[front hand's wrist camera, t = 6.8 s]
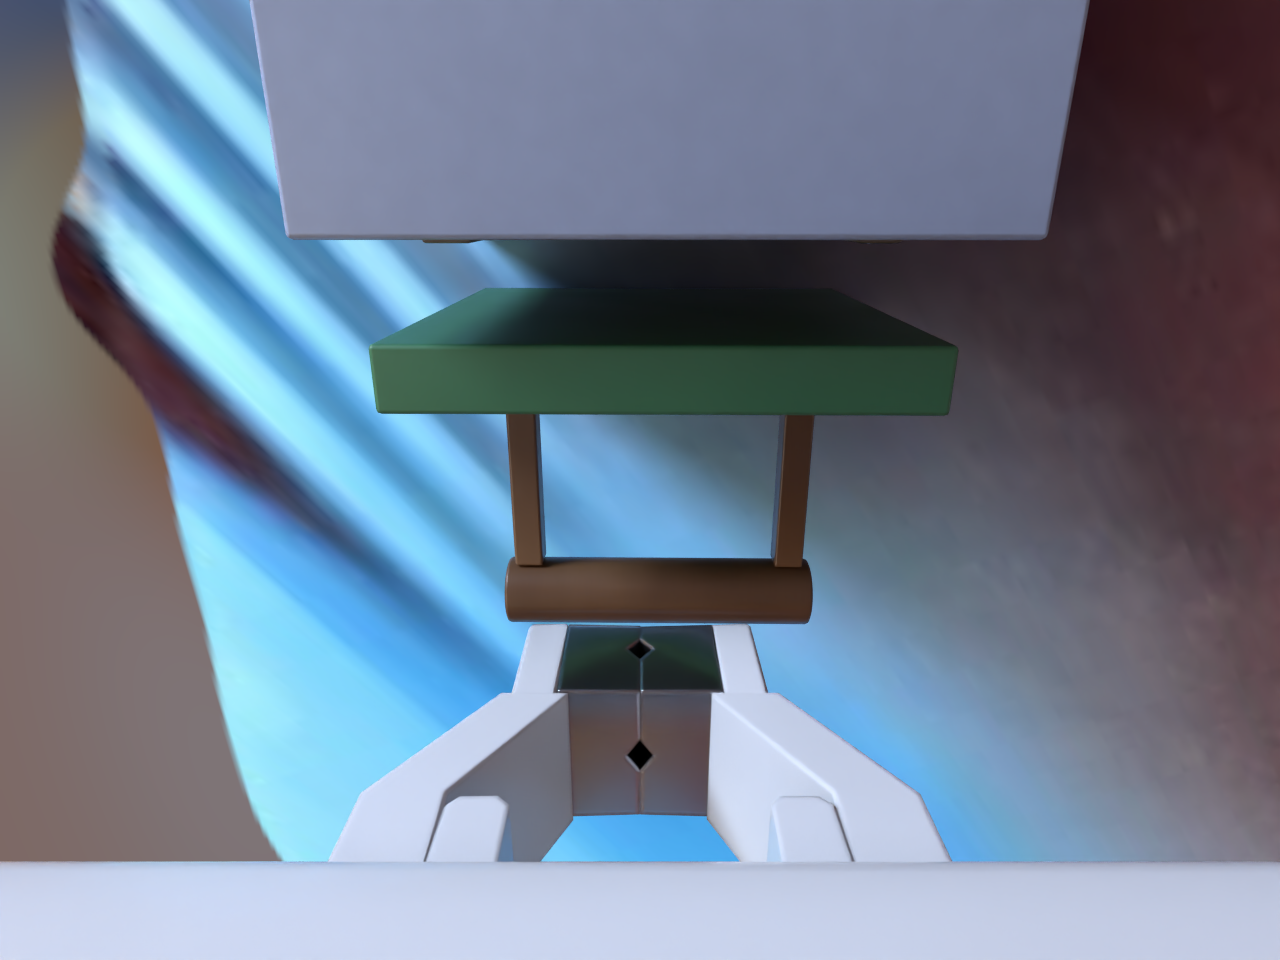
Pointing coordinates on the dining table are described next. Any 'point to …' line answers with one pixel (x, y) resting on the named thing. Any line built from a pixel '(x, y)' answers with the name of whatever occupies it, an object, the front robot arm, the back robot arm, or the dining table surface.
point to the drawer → (661, 385)
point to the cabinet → (668, 117)
